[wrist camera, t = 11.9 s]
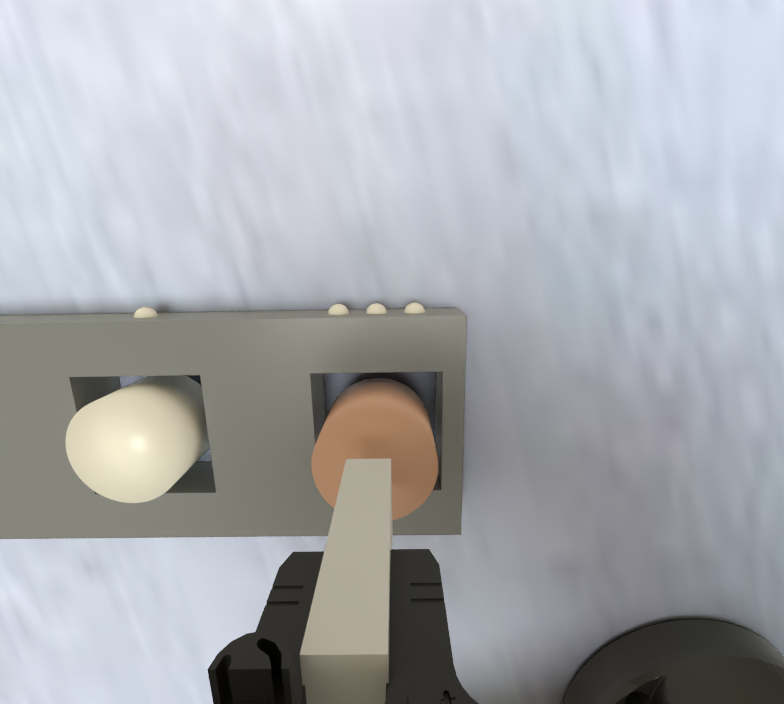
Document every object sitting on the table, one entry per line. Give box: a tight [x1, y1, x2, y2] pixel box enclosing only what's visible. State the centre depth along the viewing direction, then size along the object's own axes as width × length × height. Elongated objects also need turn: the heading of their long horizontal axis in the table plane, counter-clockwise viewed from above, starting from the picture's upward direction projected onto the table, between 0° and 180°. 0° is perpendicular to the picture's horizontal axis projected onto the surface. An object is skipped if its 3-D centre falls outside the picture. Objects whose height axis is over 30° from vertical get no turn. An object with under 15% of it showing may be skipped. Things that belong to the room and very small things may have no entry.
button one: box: [65, 375, 210, 503], centre depth 19 cm, size 5×5×4 cm
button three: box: [311, 378, 438, 521], centre depth 17 cm, size 5×5×4 cm
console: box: [0, 303, 467, 539], centre depth 20 cm, size 30×11×3 cm, turn 91°
